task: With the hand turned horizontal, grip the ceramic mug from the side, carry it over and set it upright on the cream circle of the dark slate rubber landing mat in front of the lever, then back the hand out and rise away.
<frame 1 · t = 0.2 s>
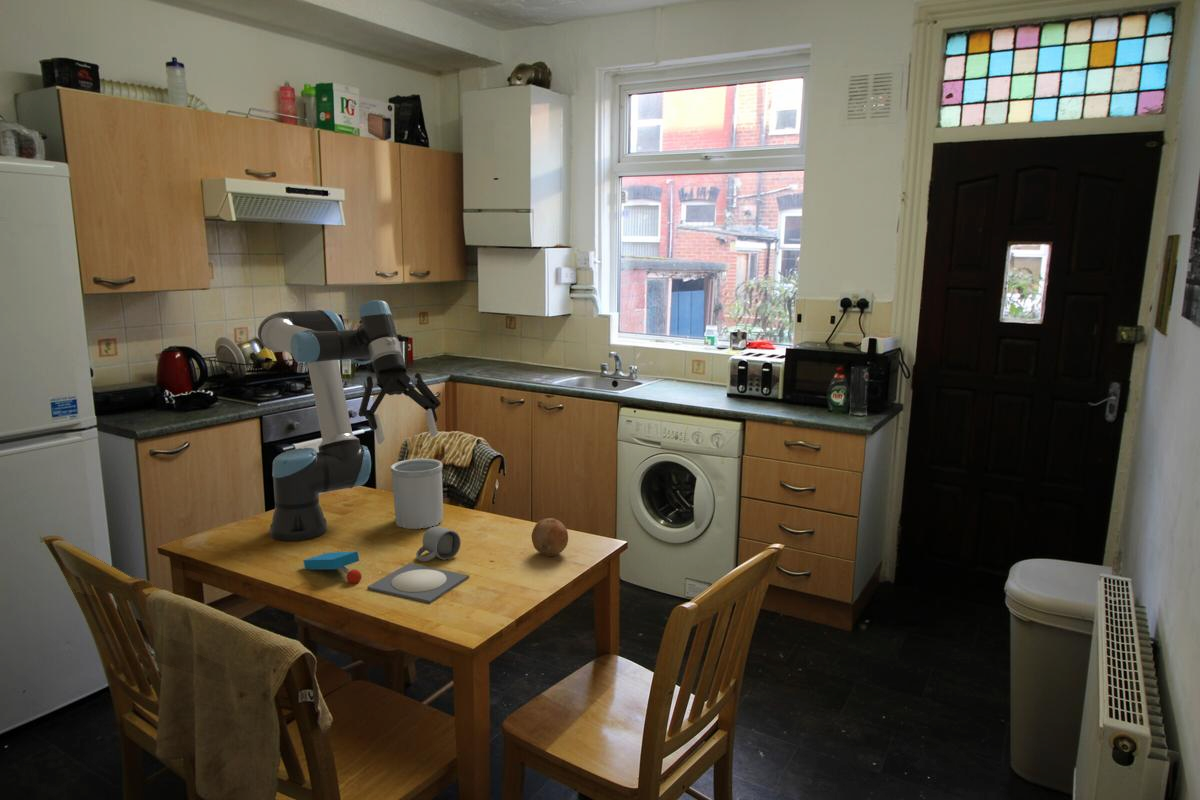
hand: (408, 438, 188), 35 cm above the table, tool tilted 35°, fingers open, 13 cm apart
utensil holder: (418, 522, 233), on the table
lever: (336, 575, 195), on the table
reddish-brown ball: (549, 555, 209), on the table
landing mat: (419, 583, 190), on the table
ceramic mug: (437, 557, 207), on the table
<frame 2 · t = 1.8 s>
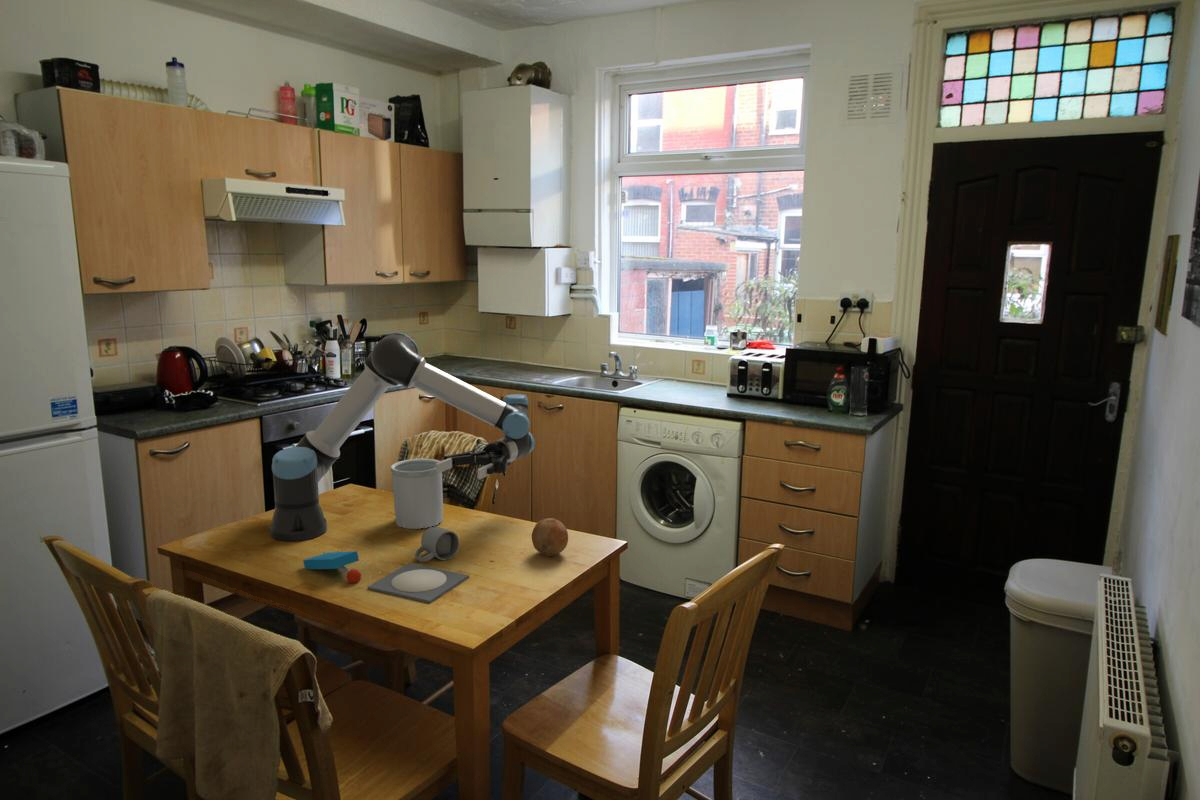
hand: (457, 471, 212), 21 cm above the table, tool horizontal, fingers open, 13 cm apart
nothing on the table moved.
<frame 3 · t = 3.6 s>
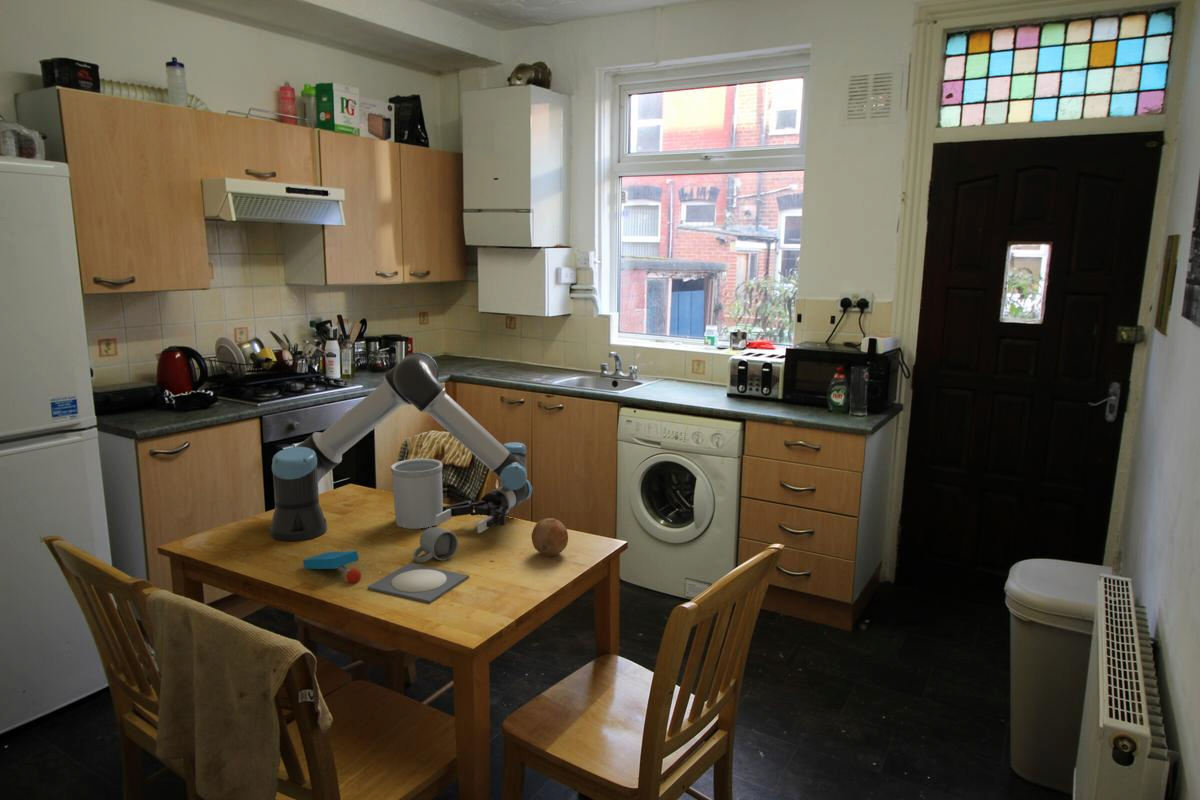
hand: (457, 524, 214), 6 cm above the table, tool horizontal, fingers open, 13 cm apart
nothing on the table moved.
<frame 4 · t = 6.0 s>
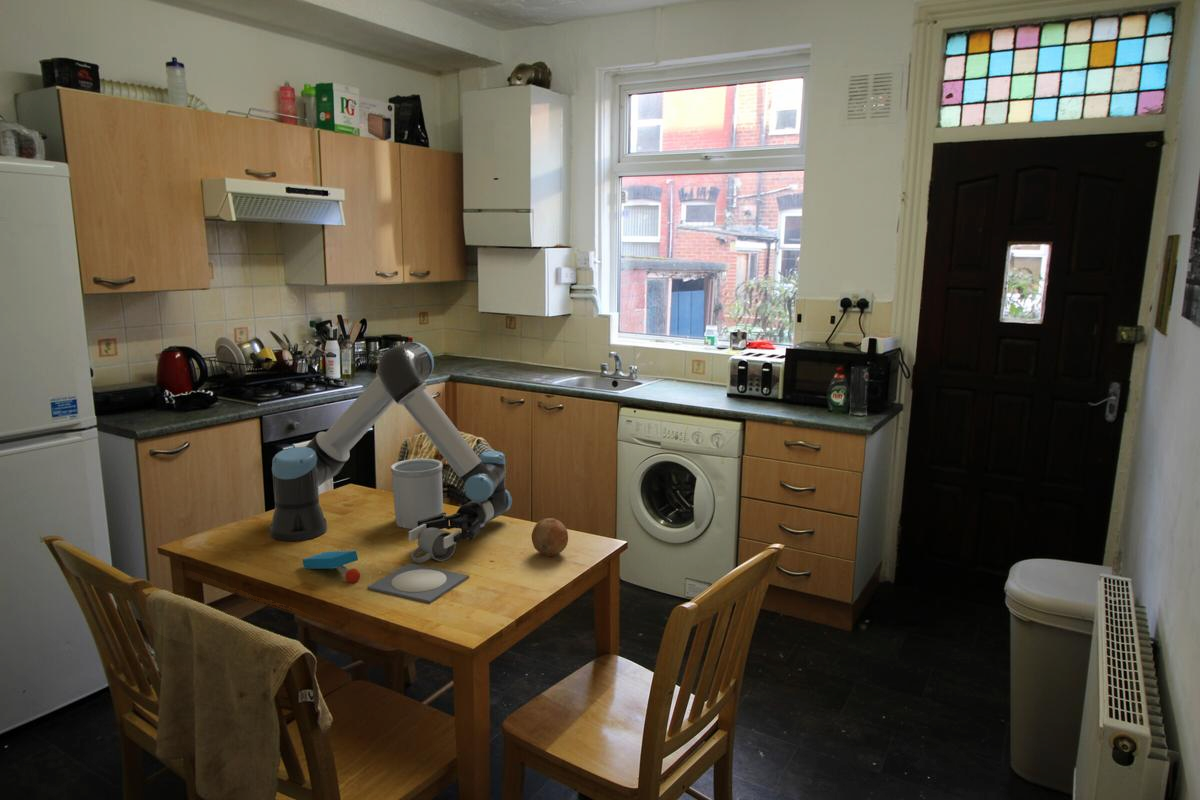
hand: (427, 539, 202), 6 cm above the table, tool horizontal, fingers open, 10 cm apart
ceramic mug: (432, 558, 206), on the table, touching gripper
everything else where it was.
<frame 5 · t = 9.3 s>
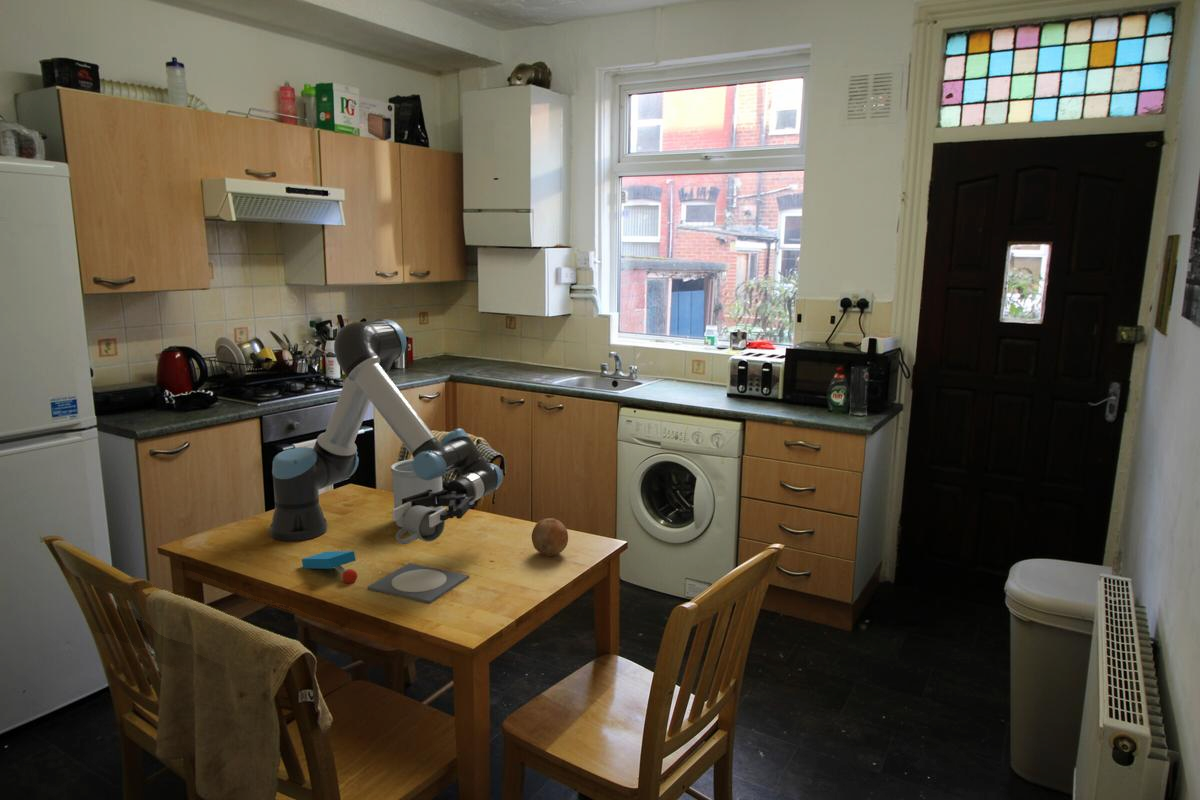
hand: (411, 518, 184), 17 cm above the table, tool horizontal, fingers closed on ceramic mug, 10 cm apart
ceramic mug: (419, 539, 188), point 11 cm above the table, touching gripper
when the fingers open (8 cm above the table, at t = 12.4 s): ceramic mug drops 1 cm, resting on landing mat.
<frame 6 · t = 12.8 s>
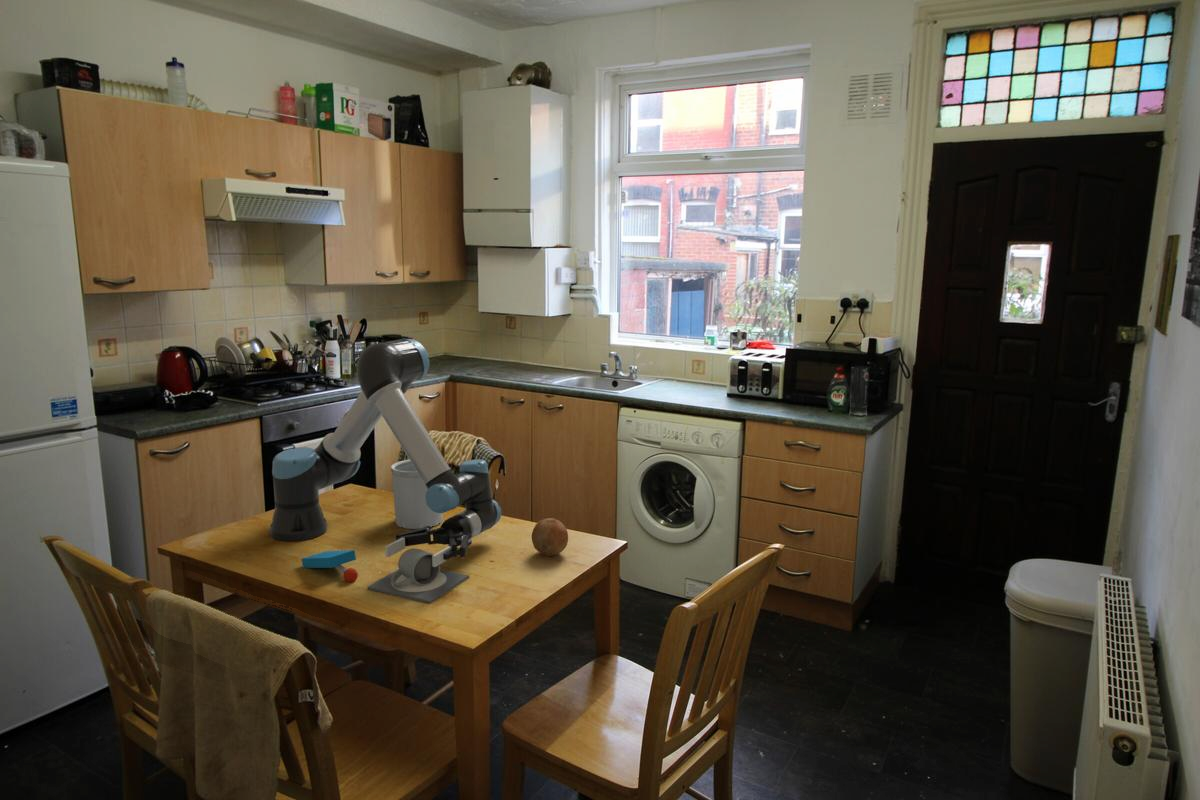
hand: (409, 556, 185), 8 cm above the table, tool horizontal, fingers open, 13 cm apart
ceramic mug: (414, 582, 189), point 1 cm above the table, touching landing mat
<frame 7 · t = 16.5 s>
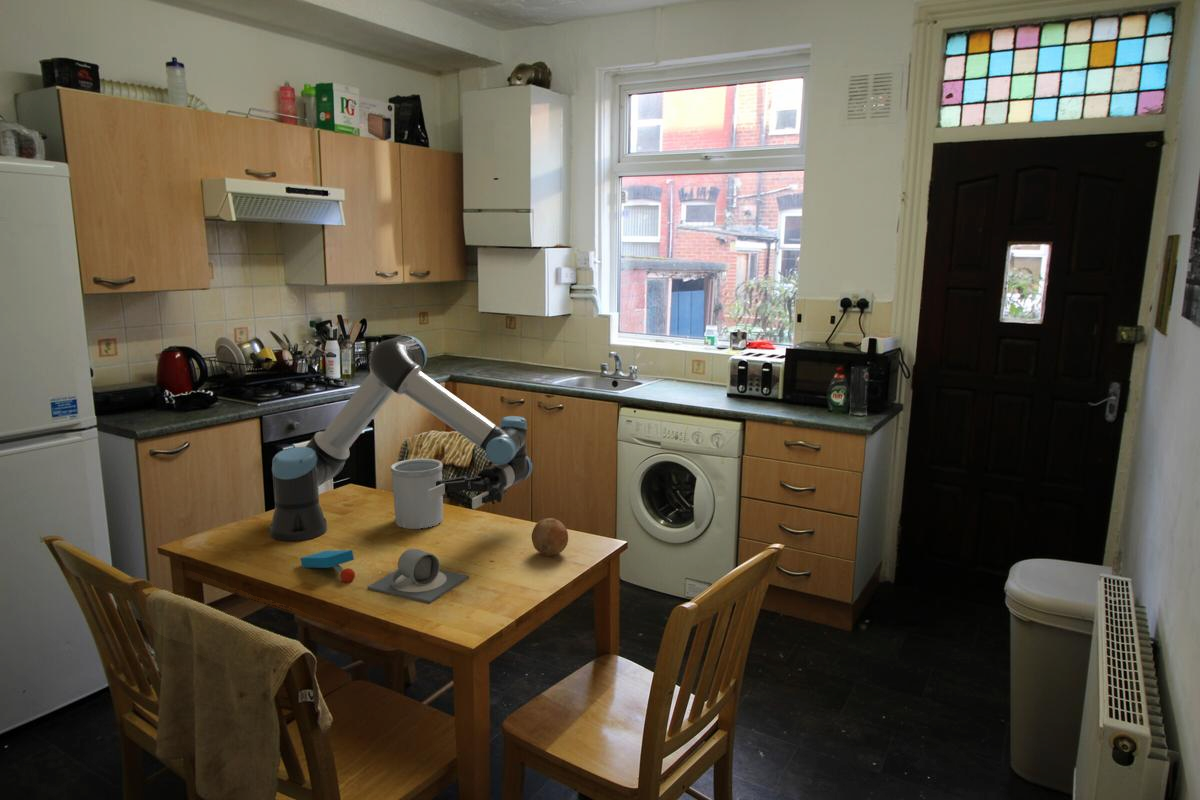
hand: (450, 499, 199), 17 cm above the table, tool horizontal, fingers open, 13 cm apart
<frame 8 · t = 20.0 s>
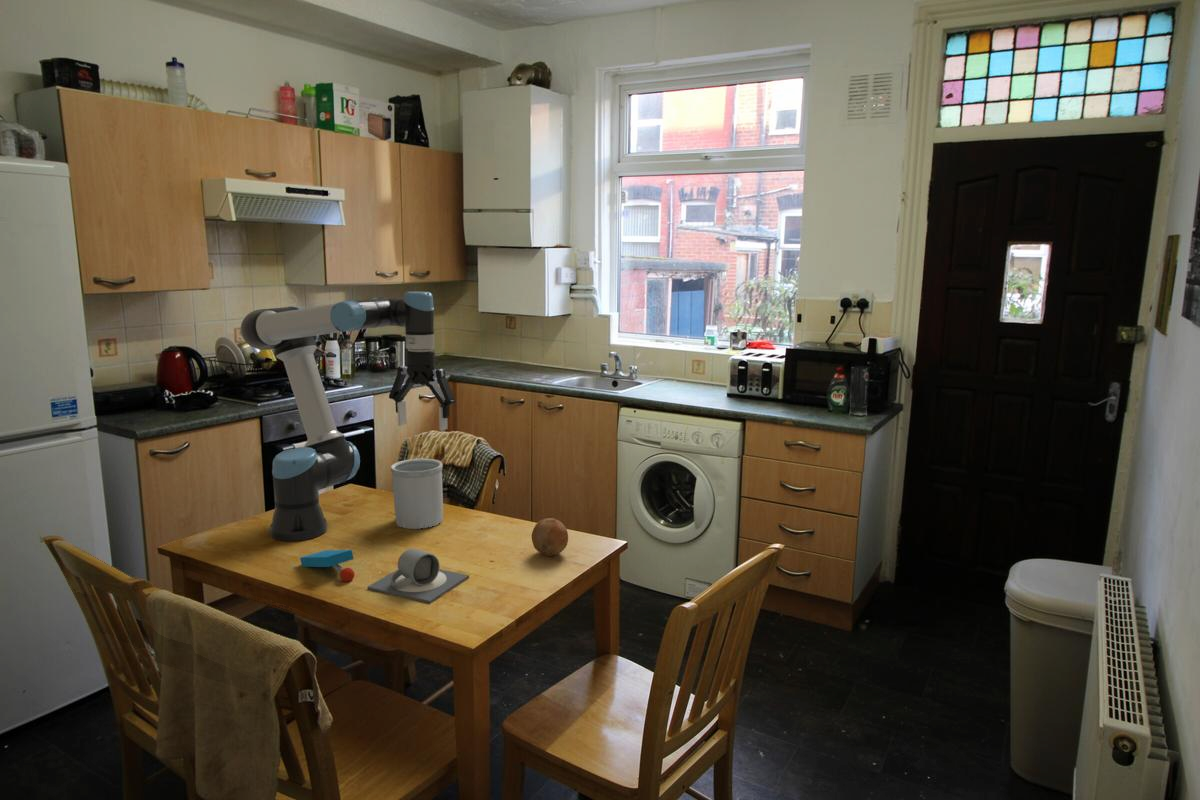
hand: (422, 427, 214), 32 cm above the table, tool pointing down, fingers open, 13 cm apart
at the end: ceramic mug inside the target area on the landing mat (1.6 cm from its centre), point 0.6 cm above the landing mat's base; ceramic mug tilted 1°; the gripper is holding nothing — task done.
